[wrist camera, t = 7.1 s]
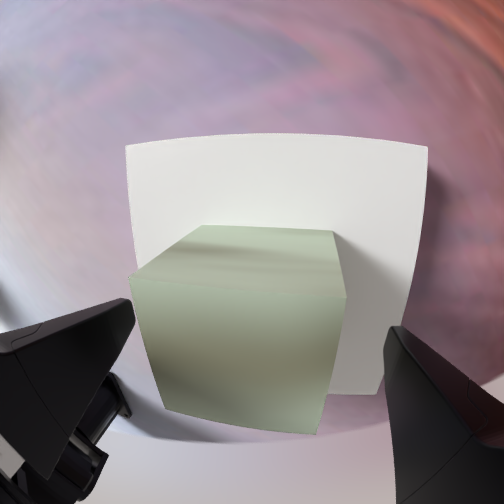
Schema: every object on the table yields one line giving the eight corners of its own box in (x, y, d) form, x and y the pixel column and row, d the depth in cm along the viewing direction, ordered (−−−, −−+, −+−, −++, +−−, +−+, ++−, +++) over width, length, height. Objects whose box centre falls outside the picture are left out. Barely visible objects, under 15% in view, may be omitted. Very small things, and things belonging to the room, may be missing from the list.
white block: (369, 359, 15) (375, 394, 12) (180, 339, 17) (160, 368, 15) (403, 147, 11) (427, 146, 8) (159, 144, 13) (125, 145, 10)
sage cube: (319, 341, 12) (315, 434, 7) (211, 330, 13) (165, 409, 8) (332, 230, 10) (346, 297, 5) (201, 224, 11) (127, 277, 6)
